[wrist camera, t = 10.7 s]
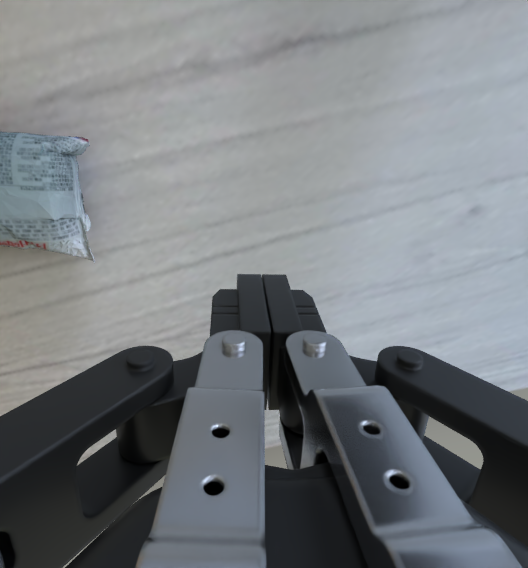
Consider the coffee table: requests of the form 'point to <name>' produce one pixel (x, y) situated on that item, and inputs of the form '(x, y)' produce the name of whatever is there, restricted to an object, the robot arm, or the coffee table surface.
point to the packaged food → (42, 194)
